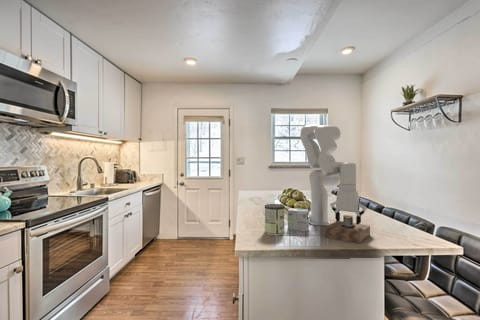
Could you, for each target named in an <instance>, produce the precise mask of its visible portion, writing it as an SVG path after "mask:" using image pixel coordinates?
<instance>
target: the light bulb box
mask: <svg viewBox="0 0 480 320" xmlns="http://www.w3.org/2000/svg"><path fill="white" fill-rule="evenodd" d="M309 215H310V214H309V209H308V208H291V207H290V208H288V210H287V230H288V231H298V232H309V228H310V227H309V225H310V223H309V220H310V219H309Z"/></svg>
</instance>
